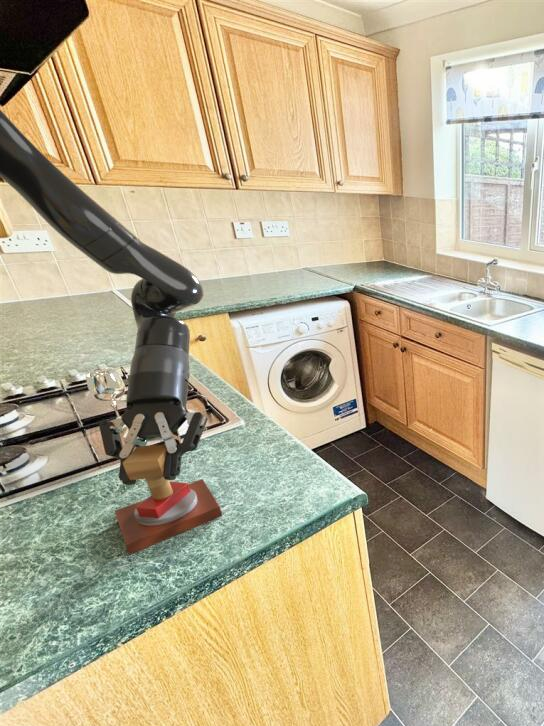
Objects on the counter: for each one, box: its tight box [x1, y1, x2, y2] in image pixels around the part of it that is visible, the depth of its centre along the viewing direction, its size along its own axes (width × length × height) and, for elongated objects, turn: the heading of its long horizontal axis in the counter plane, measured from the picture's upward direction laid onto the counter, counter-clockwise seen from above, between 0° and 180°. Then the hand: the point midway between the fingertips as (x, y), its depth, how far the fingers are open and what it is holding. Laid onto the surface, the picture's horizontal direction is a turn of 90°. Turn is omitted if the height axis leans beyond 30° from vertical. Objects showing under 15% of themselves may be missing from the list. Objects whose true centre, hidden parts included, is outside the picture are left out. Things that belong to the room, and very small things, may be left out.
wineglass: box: [86, 368, 126, 420], centre depth 92 cm, size 6×6×12 cm
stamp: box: [123, 443, 198, 526], centre depth 66 cm, size 8×8×11 cm
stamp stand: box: [114, 478, 223, 555], centre depth 69 cm, size 12×10×2 cm
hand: (149, 481), depth 64 cm, fingers closed on stamp, 4 cm apart
